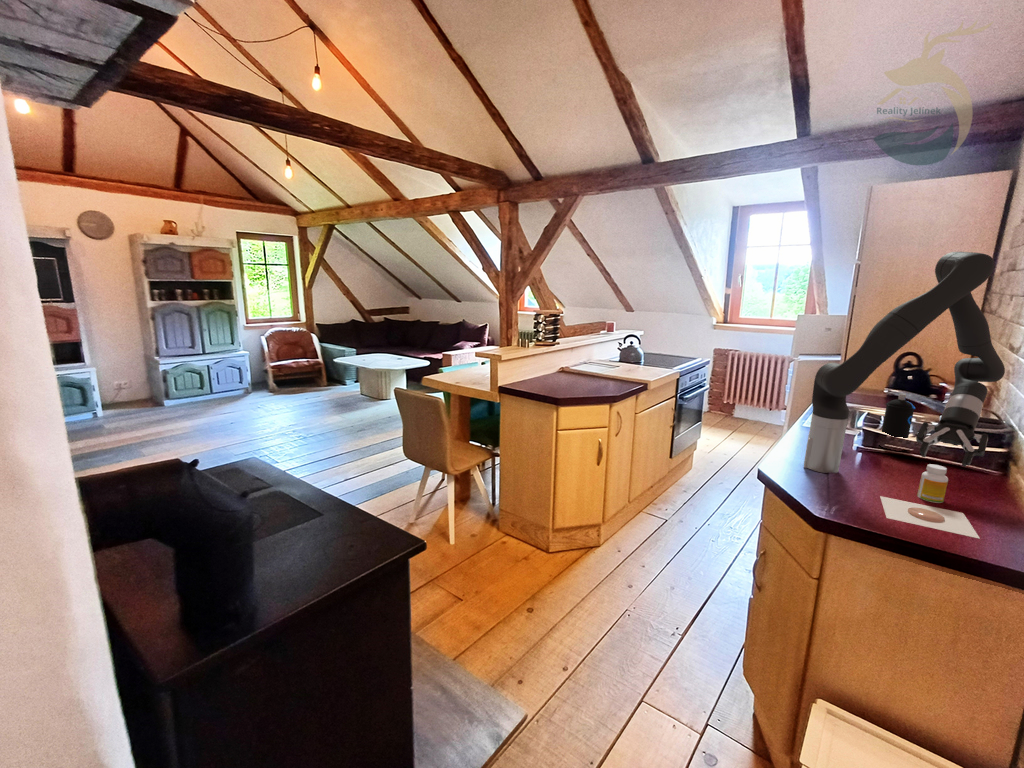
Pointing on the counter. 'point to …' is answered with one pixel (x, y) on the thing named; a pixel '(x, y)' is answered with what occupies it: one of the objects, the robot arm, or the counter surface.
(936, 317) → the robot arm
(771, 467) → the counter surface
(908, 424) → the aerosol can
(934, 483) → the supplement bottle
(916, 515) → the coaster
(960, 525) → the mat
